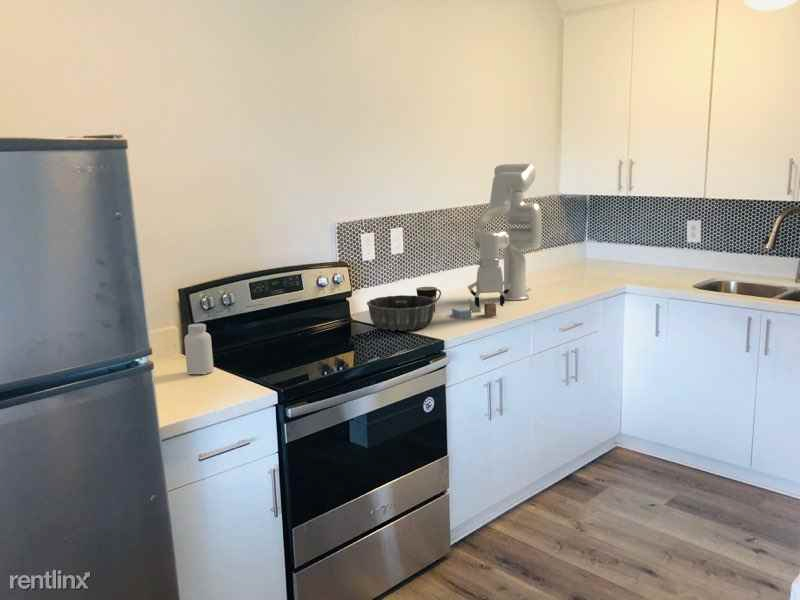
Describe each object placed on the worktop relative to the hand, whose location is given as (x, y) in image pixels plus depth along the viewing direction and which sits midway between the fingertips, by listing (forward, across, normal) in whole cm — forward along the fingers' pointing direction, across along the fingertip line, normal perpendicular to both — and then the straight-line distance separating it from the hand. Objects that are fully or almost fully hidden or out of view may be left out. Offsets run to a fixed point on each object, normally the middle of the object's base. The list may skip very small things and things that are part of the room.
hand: (489, 306), depth 292 cm
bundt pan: (+5, -36, -10) cm, 38 cm away
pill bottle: (+6, -104, -59) cm, 119 cm away
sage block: (+4, -4, +12) cm, 13 cm away
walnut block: (+4, 0, +1) cm, 4 cm away
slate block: (+4, -11, +3) cm, 12 cm away
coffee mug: (+4, -22, +15) cm, 27 cm away
